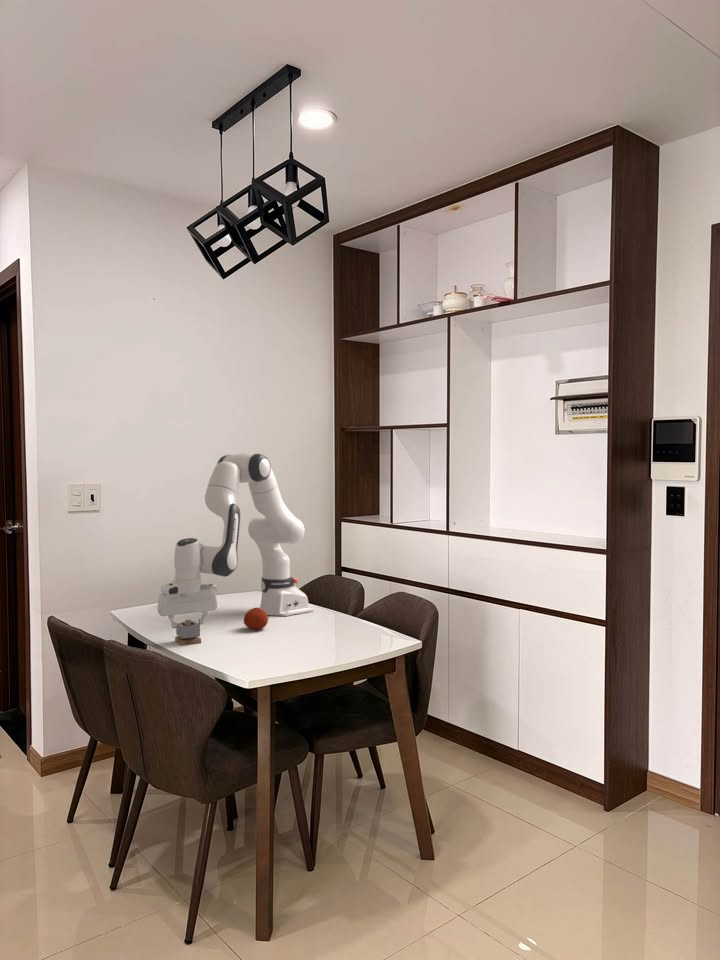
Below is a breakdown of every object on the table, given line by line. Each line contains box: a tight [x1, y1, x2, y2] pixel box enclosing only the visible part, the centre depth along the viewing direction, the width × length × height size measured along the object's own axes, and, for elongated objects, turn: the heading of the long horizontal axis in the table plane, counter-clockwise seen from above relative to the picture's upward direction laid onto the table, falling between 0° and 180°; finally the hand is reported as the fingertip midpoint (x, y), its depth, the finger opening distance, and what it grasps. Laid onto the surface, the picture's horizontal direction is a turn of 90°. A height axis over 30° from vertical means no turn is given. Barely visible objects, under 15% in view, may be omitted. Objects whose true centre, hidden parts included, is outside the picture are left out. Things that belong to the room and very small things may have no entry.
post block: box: [174, 619, 202, 647], centre depth 254 cm, size 7×7×8 cm
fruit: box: [243, 607, 269, 630], centre depth 272 cm, size 9×9×8 cm
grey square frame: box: [175, 620, 201, 639], centre depth 254 cm, size 6×6×4 cm
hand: (188, 625), depth 254 cm, fingers open, 8 cm apart
